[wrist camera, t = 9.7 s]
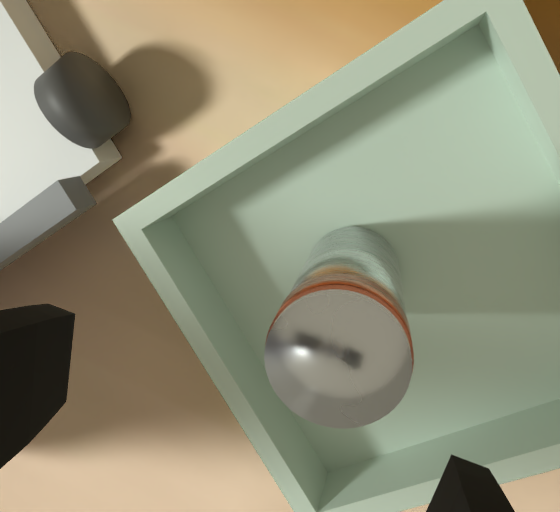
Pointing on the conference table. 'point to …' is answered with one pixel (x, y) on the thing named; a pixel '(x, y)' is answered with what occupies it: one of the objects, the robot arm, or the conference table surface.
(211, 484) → the conference table surface
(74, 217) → the trolley deck
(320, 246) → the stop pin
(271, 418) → the tray
